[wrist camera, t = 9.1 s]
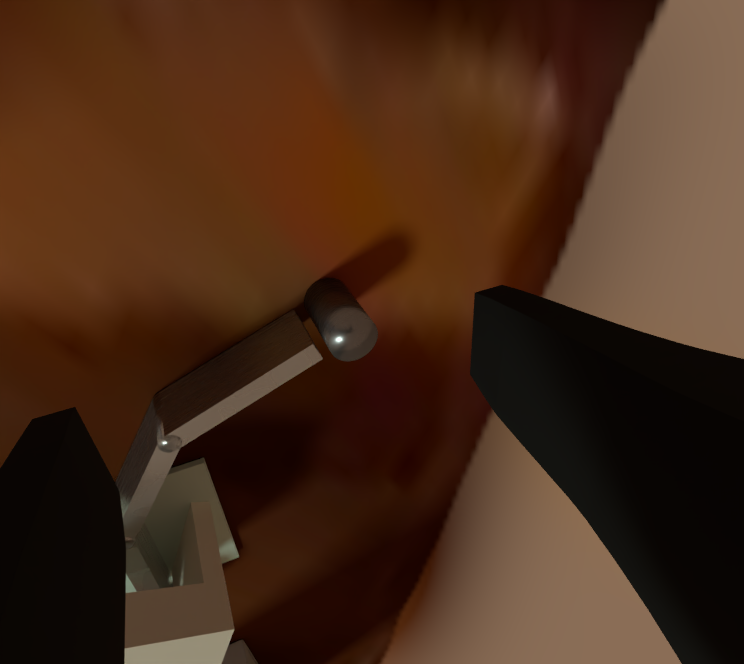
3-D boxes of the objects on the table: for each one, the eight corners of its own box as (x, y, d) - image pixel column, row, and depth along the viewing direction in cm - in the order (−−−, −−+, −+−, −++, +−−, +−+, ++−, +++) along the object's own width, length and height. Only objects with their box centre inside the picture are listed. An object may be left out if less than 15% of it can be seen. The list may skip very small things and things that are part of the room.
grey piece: (60, 607, 24) (56, 675, 22) (220, 238, 18) (238, 277, 16) (183, 601, 27) (191, 660, 25) (355, 285, 21) (386, 324, 19)
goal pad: (88, 609, 25) (88, 615, 24) (21, 517, 21) (19, 524, 20) (237, 552, 27) (239, 557, 26) (203, 457, 23) (204, 462, 22)
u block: (189, 569, 25) (207, 700, 21) (74, 582, 23) (67, 734, 18) (209, 501, 24) (234, 629, 19) (87, 507, 21) (82, 656, 17)
